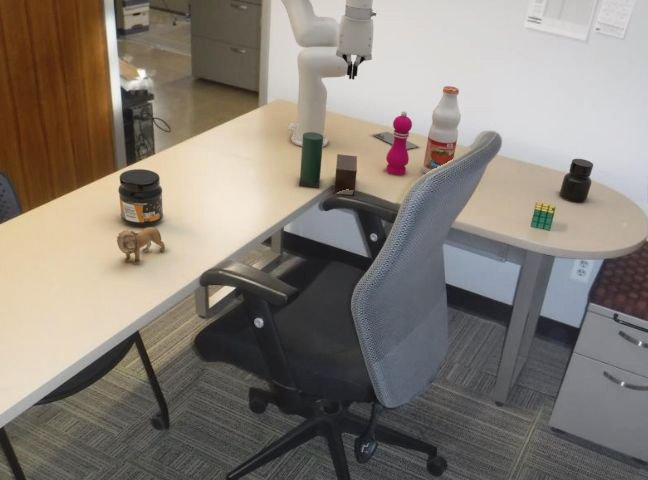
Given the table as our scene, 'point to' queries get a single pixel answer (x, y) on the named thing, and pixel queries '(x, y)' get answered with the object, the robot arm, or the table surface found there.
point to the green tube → (311, 160)
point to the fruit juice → (443, 130)
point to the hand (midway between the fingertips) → (351, 78)
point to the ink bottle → (577, 181)
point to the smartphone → (392, 139)
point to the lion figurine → (138, 242)
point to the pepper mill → (399, 146)
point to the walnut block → (345, 173)
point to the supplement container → (140, 198)
